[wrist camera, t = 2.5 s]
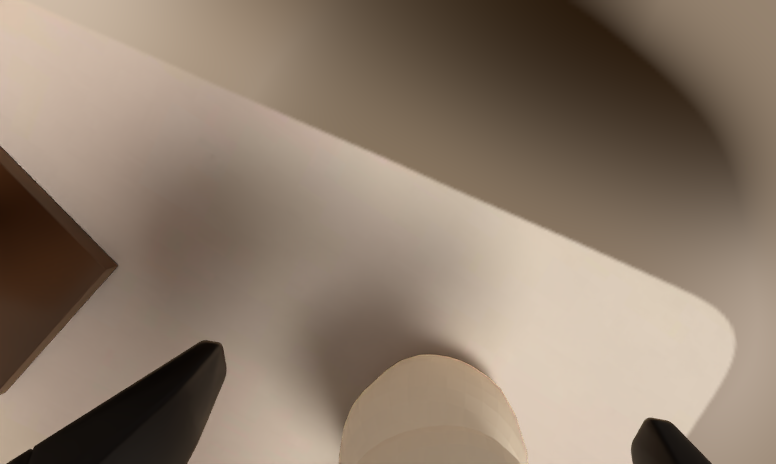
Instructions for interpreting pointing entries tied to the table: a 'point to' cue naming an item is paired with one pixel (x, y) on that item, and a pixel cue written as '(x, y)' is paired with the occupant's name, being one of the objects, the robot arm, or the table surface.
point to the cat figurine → (432, 417)
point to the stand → (39, 270)
